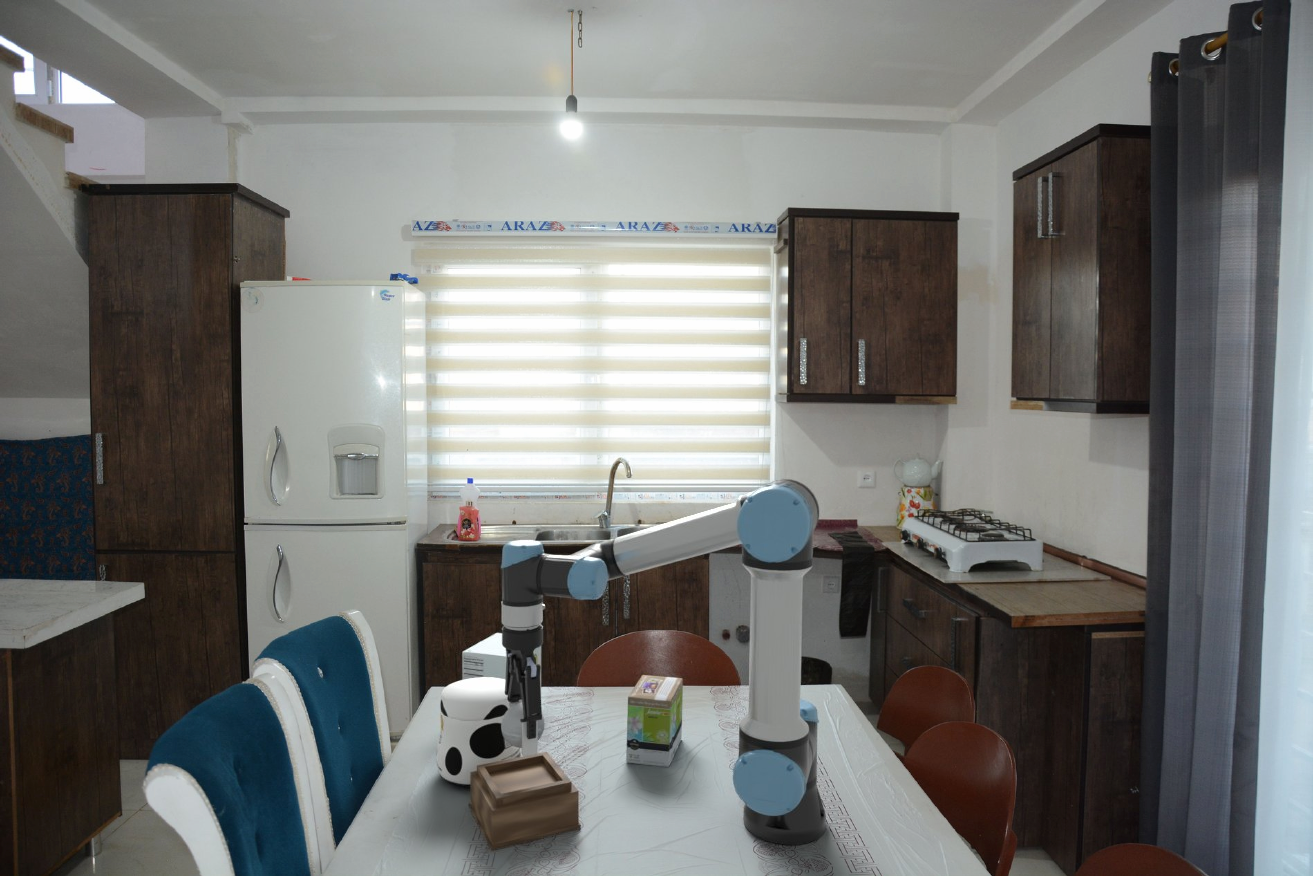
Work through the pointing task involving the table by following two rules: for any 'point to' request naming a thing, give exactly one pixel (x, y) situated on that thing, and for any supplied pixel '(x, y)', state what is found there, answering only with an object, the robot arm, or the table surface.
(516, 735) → the bath bomb
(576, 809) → the brown open square box
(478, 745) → the milk container
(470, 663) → the supplement box
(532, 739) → the robot arm
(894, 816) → the table surface
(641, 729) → the tea box
